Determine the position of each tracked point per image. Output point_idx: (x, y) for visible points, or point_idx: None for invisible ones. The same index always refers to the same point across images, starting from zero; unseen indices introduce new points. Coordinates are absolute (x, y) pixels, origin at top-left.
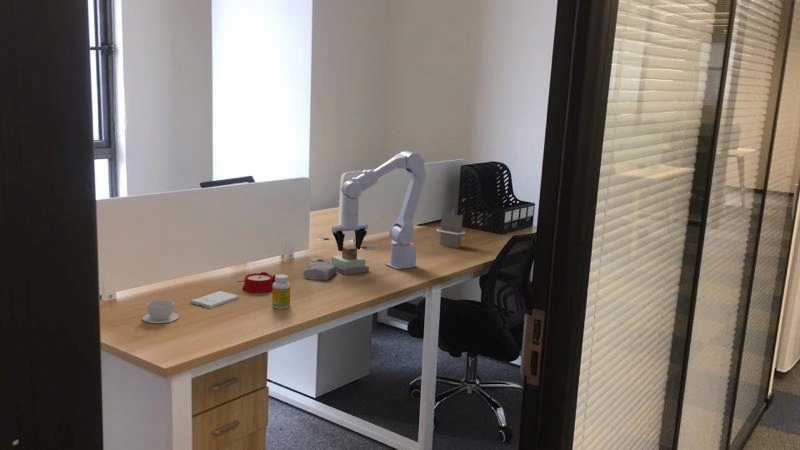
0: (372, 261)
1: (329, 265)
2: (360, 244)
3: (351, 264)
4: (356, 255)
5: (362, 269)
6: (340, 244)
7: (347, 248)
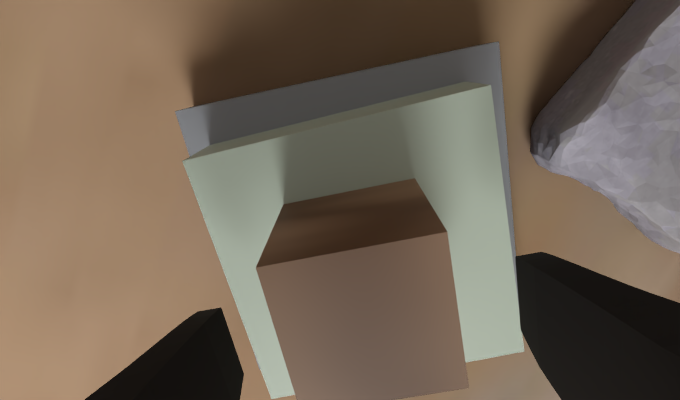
0: (85, 372)
1: (661, 114)
2: (160, 349)
3: (386, 105)
4: (285, 216)
5: (260, 92)
6: (653, 303)
7: (431, 287)
